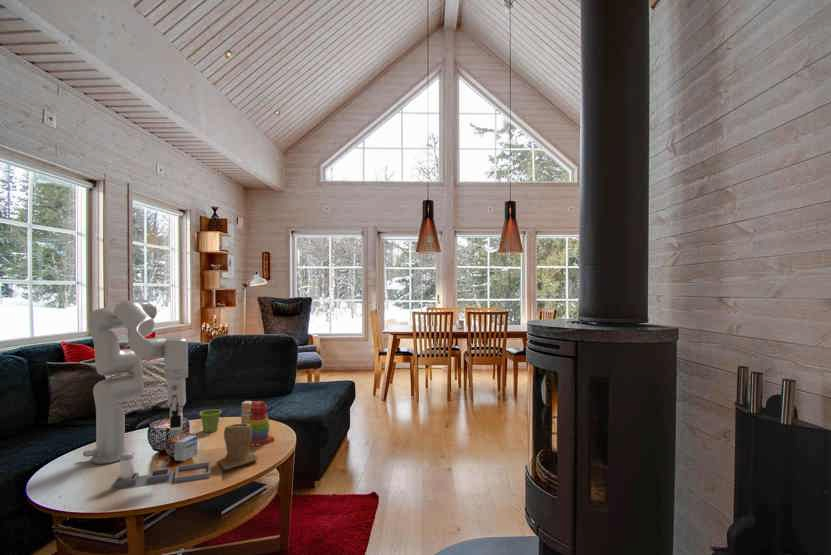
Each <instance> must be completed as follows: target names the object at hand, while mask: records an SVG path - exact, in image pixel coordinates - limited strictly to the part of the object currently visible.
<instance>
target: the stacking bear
mask: <svg viewBox="0 0 831 555" xmlns="http://www.w3.org/2000/svg"><path fill="white" fill-rule="evenodd" d="M252 401H253V402H252V406H251V413H252V415H251V416H250V418H249V420H248V424H250V425H251V427H252V440H251V443H250V444H254V445H253V446H257V445H256V444H263V445H265V444H264V443H267V444H269V443H268V442H270V443H272V442H274V441H275V436H272V435H269V431H270V420H269V417H268V415H267V410H268V405H267V403H266V402H264V401H263V400H262V401H261V400H258V401H257V402H255V400H252ZM271 441H272V442H271Z"/></svg>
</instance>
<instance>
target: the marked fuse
mask: <svg viewBox="0 0 831 555" xmlns="http://www.w3.org/2000/svg"><path fill="white" fill-rule="evenodd" d="M178 406H179V405H177V406H176V407H178ZM183 408H184V406H183V407H182V406H180V415H181V426H180V427H176V428H171V427H170V426H169V434H170V435H172V436H173V435H179V434H182V433H183V432H184V431H183V427H184V426H183V418H184V416H183ZM170 416H171V408H169V417H170Z"/></svg>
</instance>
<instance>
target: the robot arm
mask: <svg viewBox="0 0 831 555" xmlns="http://www.w3.org/2000/svg"><path fill="white" fill-rule="evenodd" d="M157 312H158V309H157V306H156V304H155V302H153V301H151V300H148V299H135V300H134V299H133V300H130V299H129V300H123V301H120V302H118V303H117V304H116V305H115V306H112V307H111V306H109V307H101V308H97V309H94V310H93V311H91V312H90V314H89V316H88V320H87V324H88V326H87V327H88V330H89V333H90V336H91V338H92V341H93V347H94V348H93V349H94V361H95V368H96V372H97V374H98V375H100V376H112V375H119V374H125V375H124V376H118V377H112V378H106V379H103V380H100V381H98V382H97V383H96V384H95V385H94V386H93V390H92V391H93V392H92V393H93V399H94V405H95V416H96V417H95V418H96V419H95V422H96V424H95V426H96V427H95V429H96V430H95V431H96V432H95V433H96V434H95V438H96V439H95V440H96V441H95V442H96V444H95V448H93V449H89V450H87V449H86V450H83V452H82V456H84V457H85V458H87V457H91V463H92V464H96V465H105V464H106V465H107V464H113V463H117V462H120V454H122V453H124V452H129V450H127V449H125V446H126V445H125V441H126V440H125V439H126V437H125V435H126V431H125V429H126V428H125V425H126V424H125V422H126V420H125V419H126V416H125V414H126V413H125V409H124V408H123V407H122V406H121V404H119V402H122V401H126V400H131V399H135V398H138V397H140V396H141V395H142V394H143V392H144V384H145V383H144V373H143V363H142V360H144V361H150V360H157V359H163V369H164V370H163V374H164V375H163V378H164V380H167V404H168V406H167V407H168V408H169V409H170V408H171V416H170V415H169V428H170V427H171V428H176V427H180V426H181V415H180V406H182V407H183V408H184V406H185V405H186V403H187V392H186V389H187V388H186V378H188V377H189V342H188V340H187V339H186V338H183V337H176V336H172V335H171V336H160V337H159V336H158V337H150V338H146V336H147V335H149V334H150V333H152V332H153V330H154V327H155V320H154V319H155V318H156V317H157V314H158V313H157ZM123 328H124V329H125V328H126V329H127V330H128V331H129V333H128V338H127V340H128V341H127V342H128V347H129V348H126V349H125V348H124V349H121V347H120V338H119V337H118V336H117V335H116V333H115V332H114V331H113V330H112V329H123ZM177 405H179V406H178V407H176V406H177Z"/></svg>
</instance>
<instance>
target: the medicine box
mask: <svg viewBox="0 0 831 555" xmlns="http://www.w3.org/2000/svg"><path fill="white" fill-rule="evenodd" d="M187 436H188V437H187ZM187 436H185V438H184V437H182V438H180V439H178V440H176V441H175V442H174V461H180V462H185V461H187V460H189V459H191V458H192V457H195V456H196V455H198V436H197V435H187Z"/></svg>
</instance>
